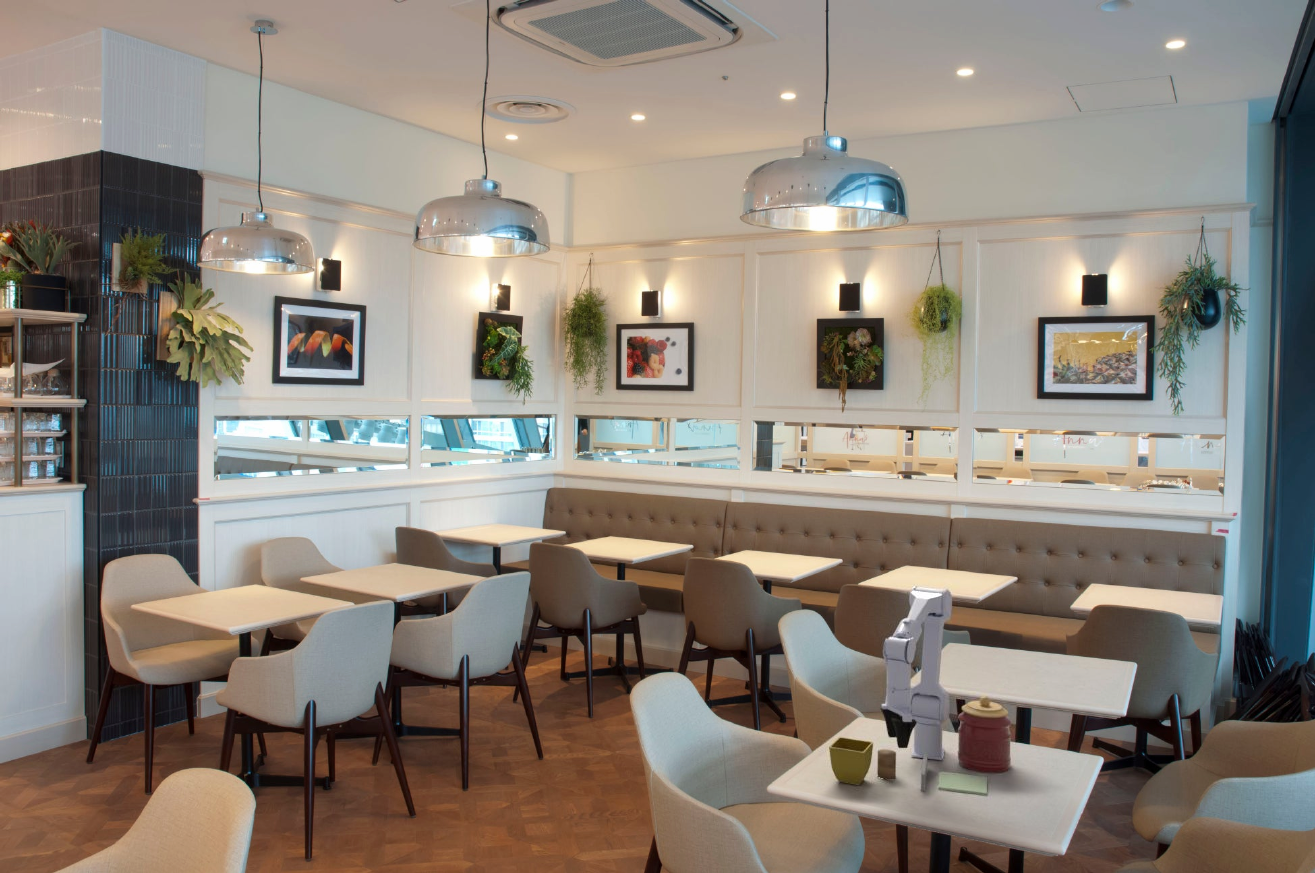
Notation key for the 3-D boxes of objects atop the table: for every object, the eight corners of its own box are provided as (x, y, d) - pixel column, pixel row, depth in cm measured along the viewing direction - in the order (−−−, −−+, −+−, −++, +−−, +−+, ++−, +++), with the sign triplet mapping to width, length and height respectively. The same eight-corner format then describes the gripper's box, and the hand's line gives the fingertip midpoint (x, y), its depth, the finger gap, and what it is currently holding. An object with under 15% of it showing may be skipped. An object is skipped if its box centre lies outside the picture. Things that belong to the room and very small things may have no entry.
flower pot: (827, 783, 233) (828, 746, 233) (838, 771, 241) (839, 736, 241) (863, 789, 229) (864, 752, 229) (873, 778, 237) (873, 741, 237)
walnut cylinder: (878, 772, 241) (878, 748, 241) (896, 774, 240) (896, 750, 240) (876, 778, 237) (876, 754, 237) (894, 780, 236) (895, 756, 236)
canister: (947, 763, 248) (948, 695, 248) (974, 752, 256) (975, 686, 256) (994, 777, 238) (995, 706, 238) (1020, 765, 247) (1021, 697, 247)
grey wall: (924, 768, 244) (924, 752, 244) (927, 768, 244) (927, 752, 244) (920, 790, 229) (921, 774, 229) (924, 791, 229) (924, 774, 229)
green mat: (939, 773, 241) (939, 771, 241) (986, 778, 237) (986, 776, 237) (938, 789, 230) (938, 787, 230) (986, 795, 227) (987, 792, 227)
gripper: (873, 678, 242) (873, 732, 242) (891, 695, 227) (890, 752, 228) (901, 678, 242) (900, 732, 243) (920, 695, 228) (919, 752, 228)
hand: (897, 742), depth 235 cm, fingers open, 7 cm apart
